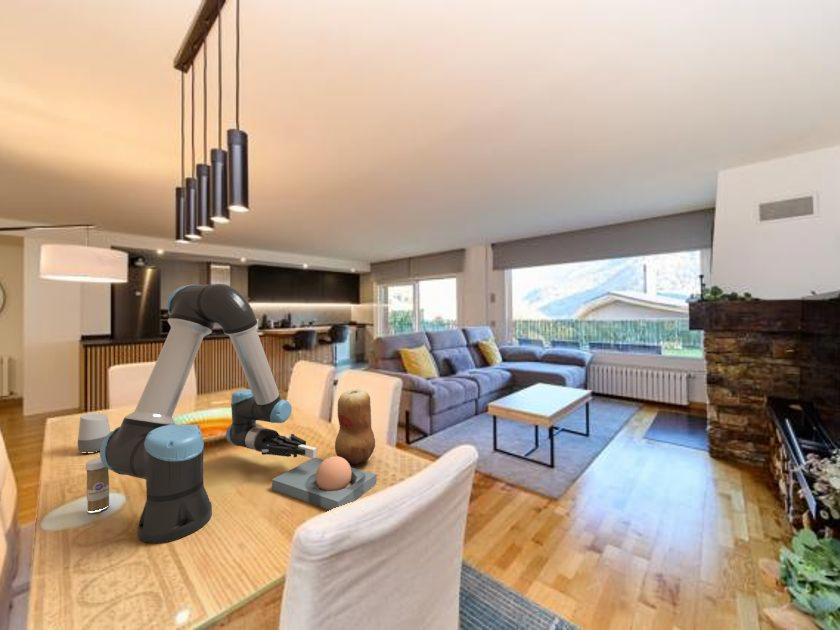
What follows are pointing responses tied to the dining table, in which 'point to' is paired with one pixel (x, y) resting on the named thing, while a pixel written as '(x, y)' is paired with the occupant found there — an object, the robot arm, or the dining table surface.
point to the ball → (333, 474)
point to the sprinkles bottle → (97, 484)
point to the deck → (304, 486)
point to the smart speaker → (92, 432)
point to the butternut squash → (354, 427)
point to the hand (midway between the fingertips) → (315, 453)
